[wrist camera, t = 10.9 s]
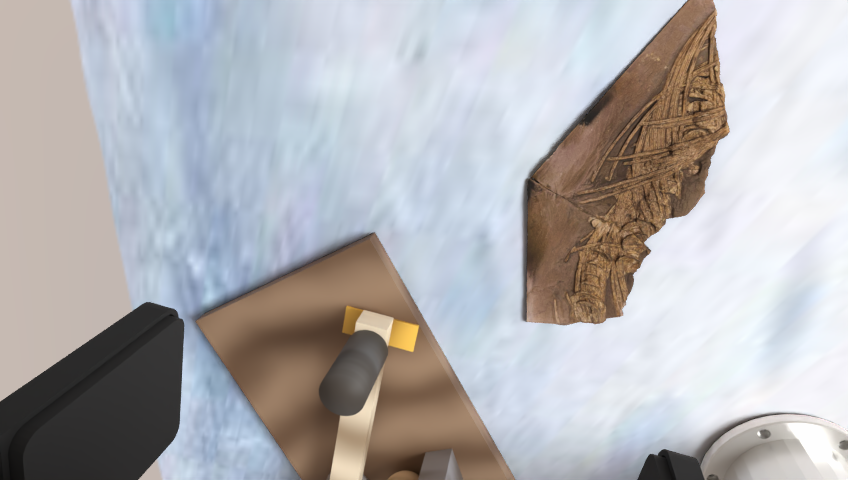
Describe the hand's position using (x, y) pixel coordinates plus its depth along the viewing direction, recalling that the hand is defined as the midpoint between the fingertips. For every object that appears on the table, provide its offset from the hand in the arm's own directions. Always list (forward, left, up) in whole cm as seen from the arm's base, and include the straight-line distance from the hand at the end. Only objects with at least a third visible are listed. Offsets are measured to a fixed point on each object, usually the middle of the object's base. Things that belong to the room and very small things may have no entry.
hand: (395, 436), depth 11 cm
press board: (-15, +21, -32) cm, 41 cm away
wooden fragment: (-6, -6, -33) cm, 34 cm away
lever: (-16, +21, -30) cm, 40 cm away
